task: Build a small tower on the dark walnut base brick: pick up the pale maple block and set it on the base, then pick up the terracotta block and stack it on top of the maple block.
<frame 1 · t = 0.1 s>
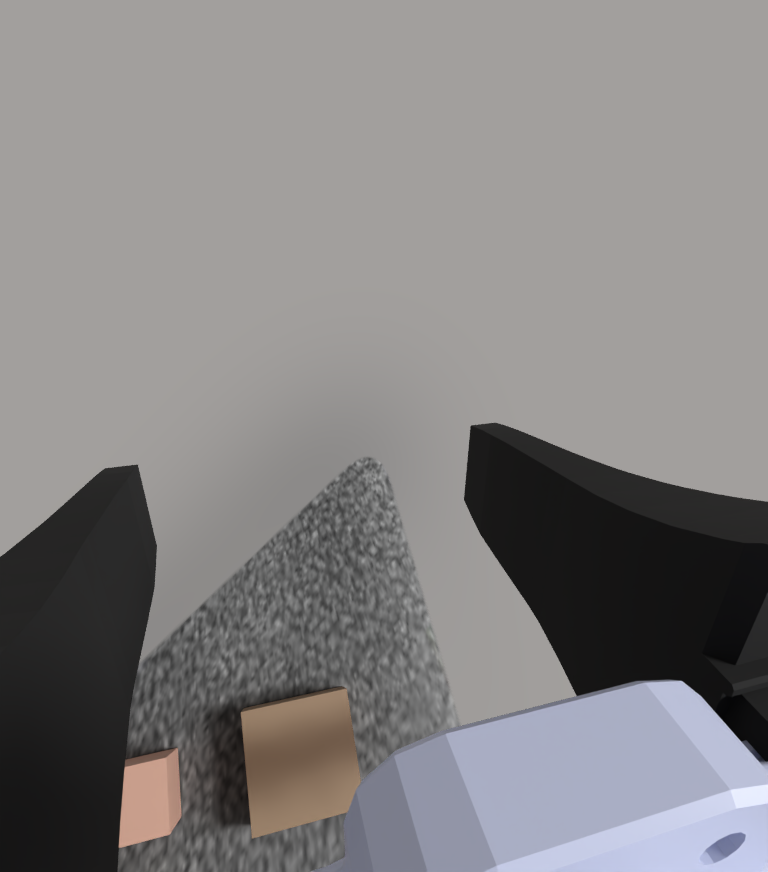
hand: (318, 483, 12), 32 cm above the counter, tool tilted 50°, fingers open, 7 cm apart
walnut base: (300, 751, 38), on the counter
terracotta block: (147, 788, 36), on the counter
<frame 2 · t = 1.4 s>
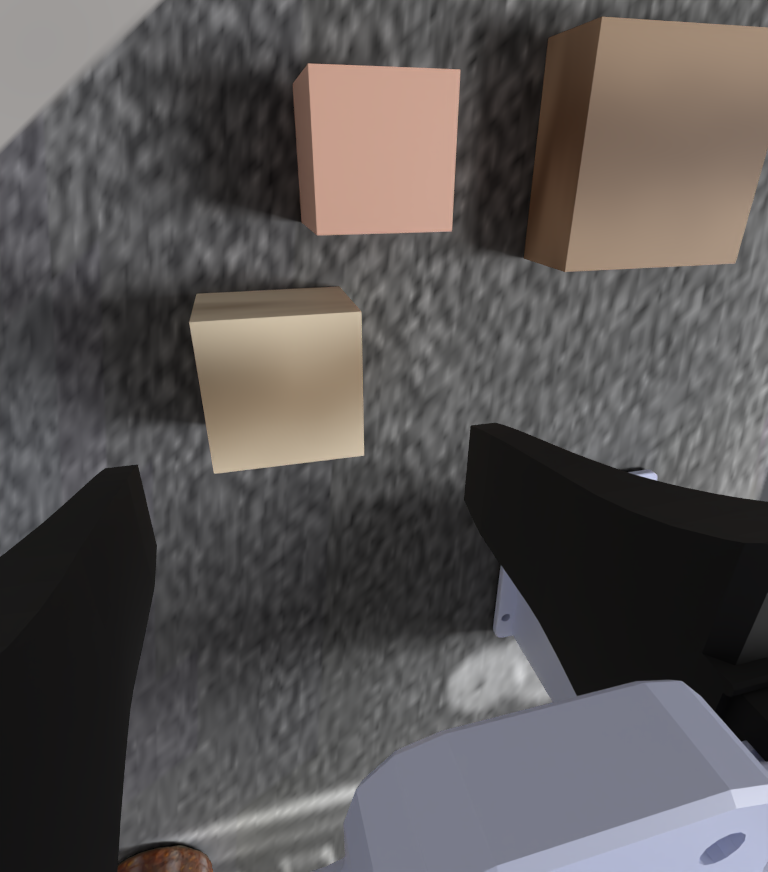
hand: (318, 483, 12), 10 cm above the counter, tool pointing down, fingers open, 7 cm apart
walnut base: (620, 157, 20), on the counter
maple block: (275, 356, 21), on the counter
sauce bottle: (158, 867, 33), on the counter
terracotta block: (356, 156, 18), on the counter
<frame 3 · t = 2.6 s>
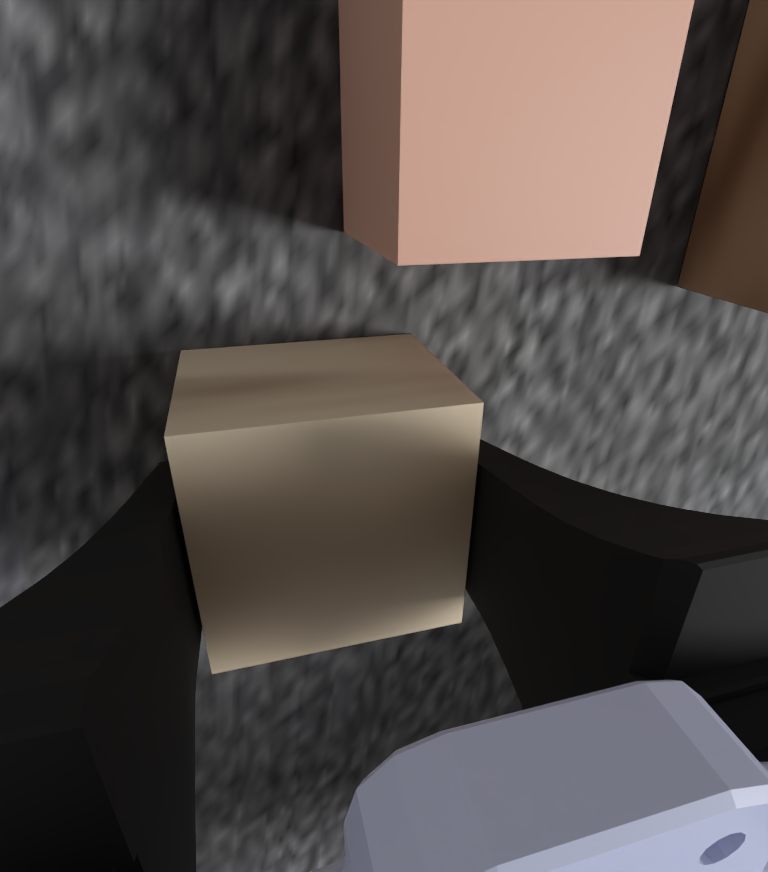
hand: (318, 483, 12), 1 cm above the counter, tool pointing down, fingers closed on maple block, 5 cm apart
maple block: (308, 442, 13), on the counter, touching gripper
terracotta block: (440, 120, 11), on the counter
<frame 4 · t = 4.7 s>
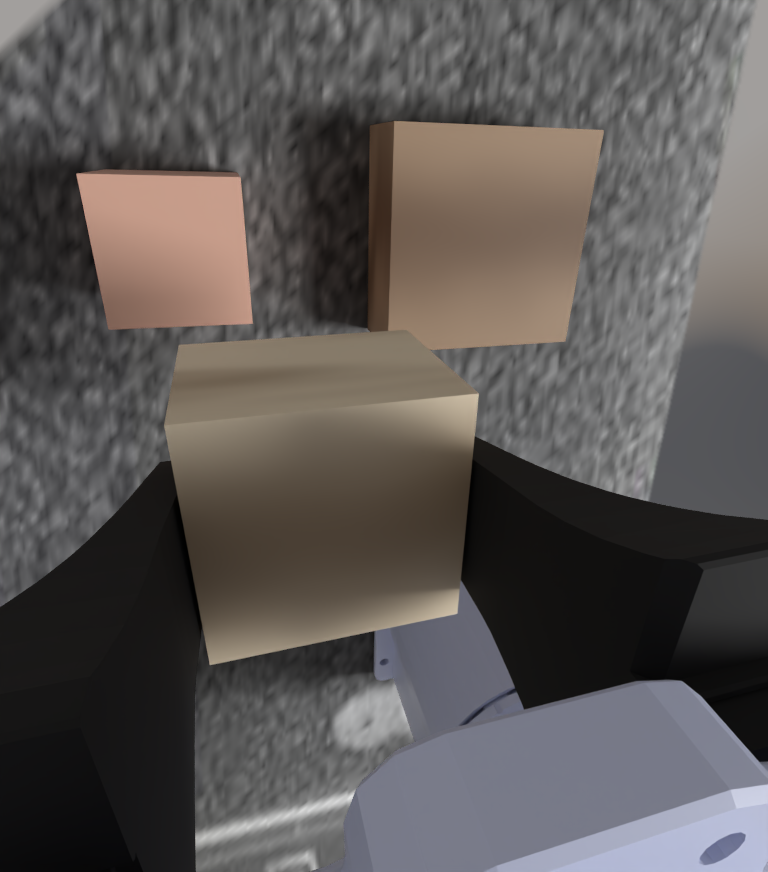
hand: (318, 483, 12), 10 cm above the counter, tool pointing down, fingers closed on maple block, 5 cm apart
walnut base: (457, 234, 21), on the counter
maple block: (304, 437, 13), point 9 cm above the counter, touching gripper
terracotta block: (181, 236, 18), on the counter
when the fingers open (6 cm above the counter, at t = 6.5 s): maple block drops 1 cm, resting on walnut base.
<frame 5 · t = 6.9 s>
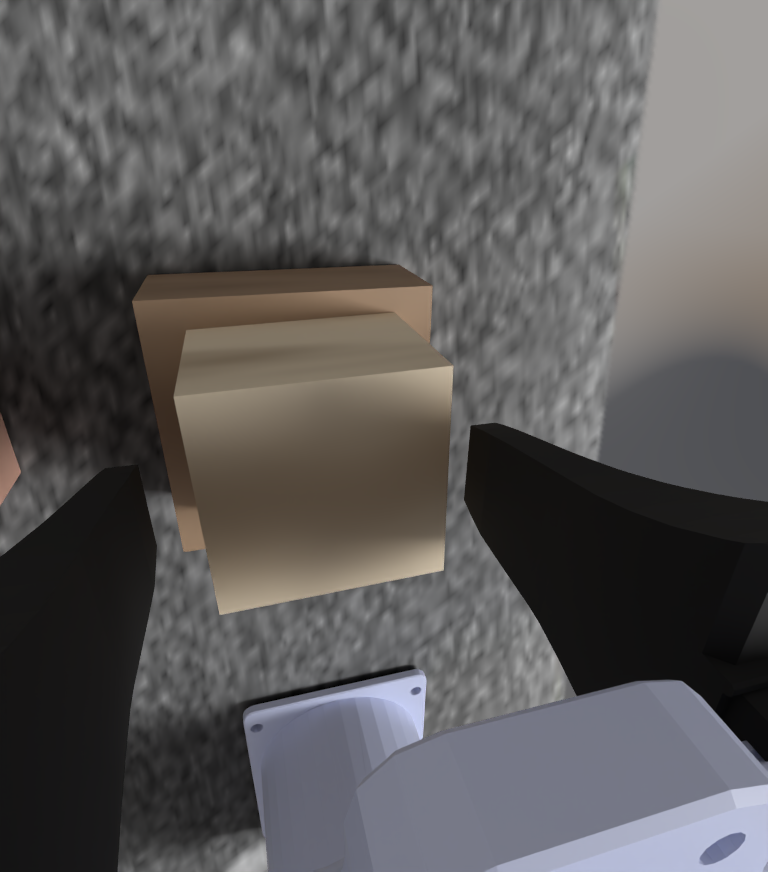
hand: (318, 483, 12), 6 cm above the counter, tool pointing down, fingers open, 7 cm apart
walnut base: (288, 384, 17), on the counter
maple block: (303, 414, 14), point 3 cm above the counter, touching walnut base
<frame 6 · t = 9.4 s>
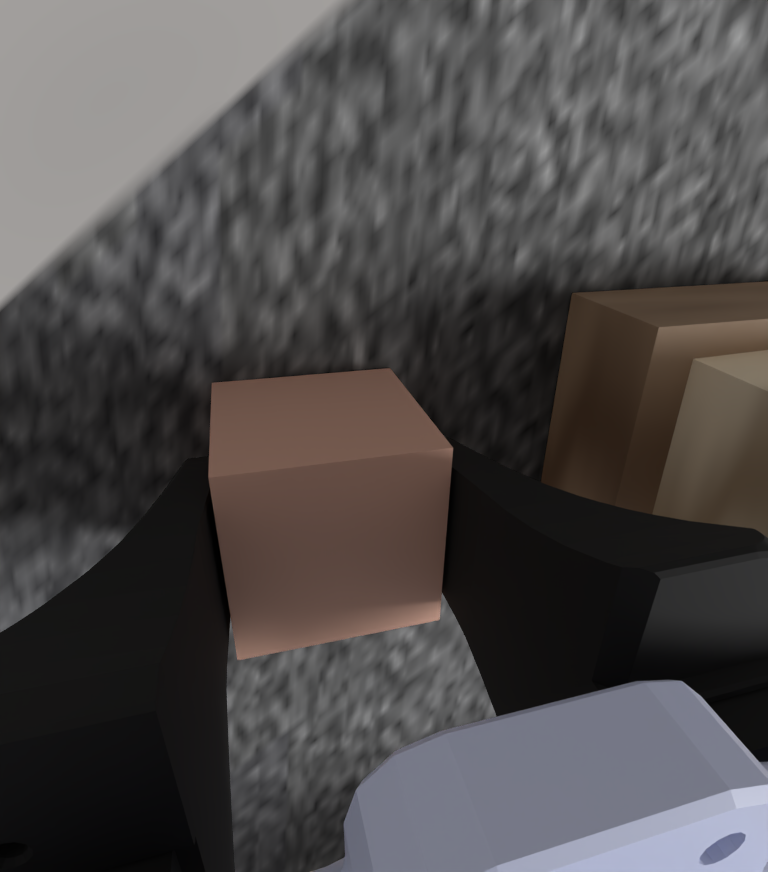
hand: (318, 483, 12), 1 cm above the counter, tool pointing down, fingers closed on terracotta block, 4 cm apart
walnut base: (660, 410, 15), on the counter
maple block: (755, 449, 13), point 3 cm above the counter, touching walnut base
terracotta block: (308, 452, 13), on the counter, touching gripper
when the fingers open (9 cm above the counter, at t = 12.4 s): terracotta block stays where it is, resting on maple block.
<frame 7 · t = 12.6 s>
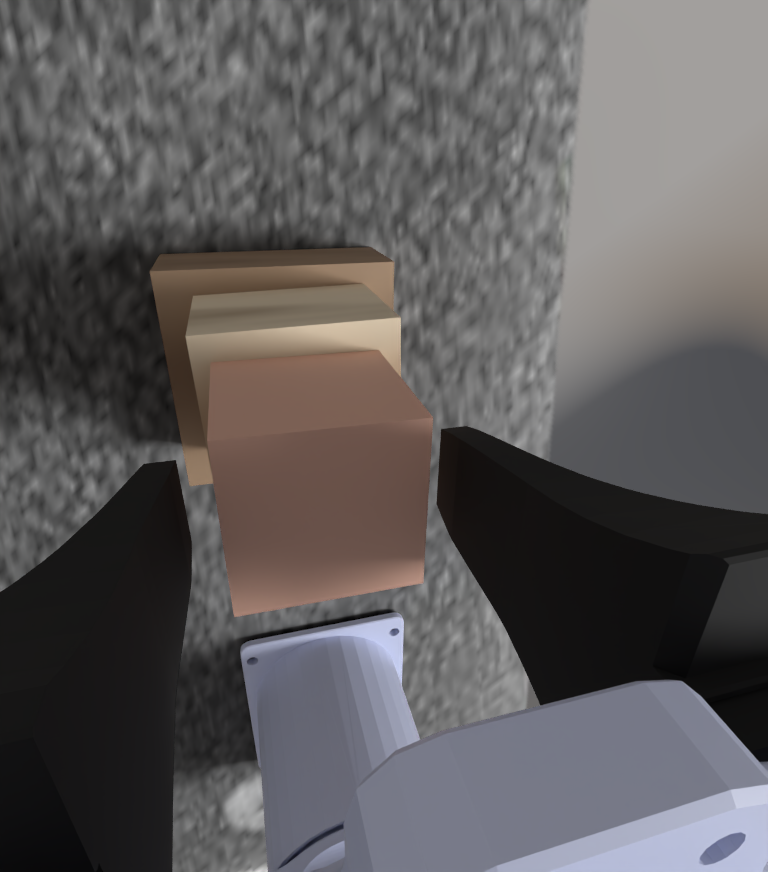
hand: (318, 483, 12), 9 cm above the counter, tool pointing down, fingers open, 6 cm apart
walnut base: (278, 349, 20), on the counter
maple block: (289, 368, 17), point 3 cm above the counter, touching terracotta block, walnut base
terracotta block: (302, 430, 14), point 7 cm above the counter, touching maple block
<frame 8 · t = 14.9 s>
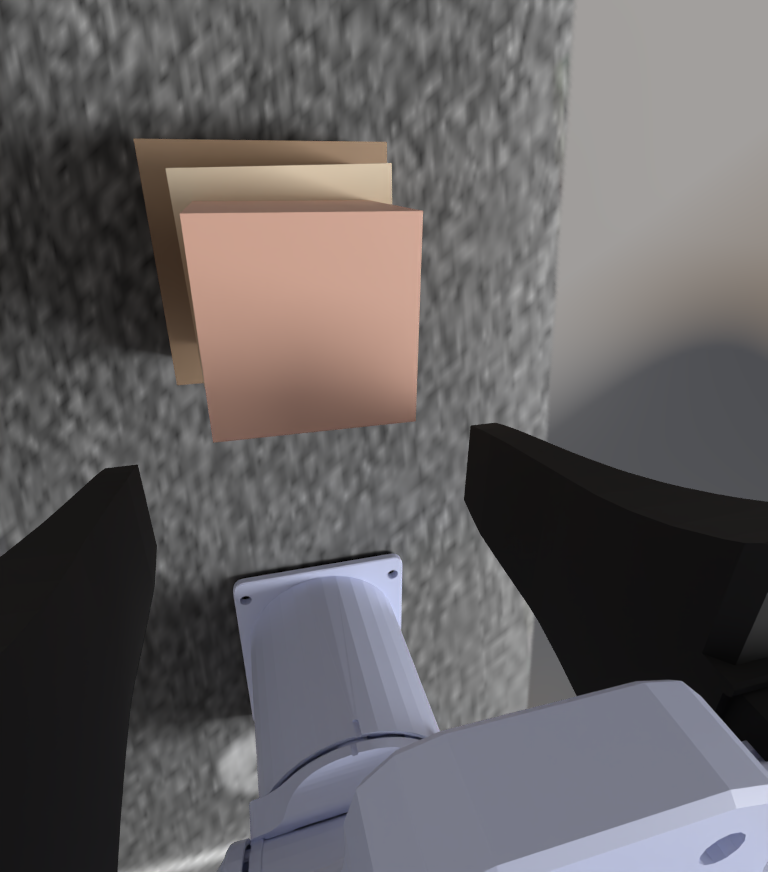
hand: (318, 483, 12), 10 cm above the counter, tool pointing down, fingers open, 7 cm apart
walnut base: (270, 255, 19), on the counter
maple block: (279, 257, 17), point 3 cm above the counter, touching terracotta block, walnut base
terracotta block: (290, 289, 13), point 7 cm above the counter, touching maple block
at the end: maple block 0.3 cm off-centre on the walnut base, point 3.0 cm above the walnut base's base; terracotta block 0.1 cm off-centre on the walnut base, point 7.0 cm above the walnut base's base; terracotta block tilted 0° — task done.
